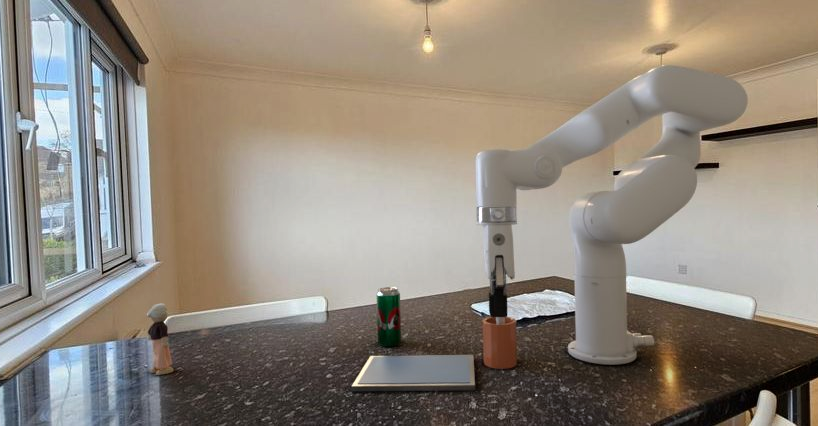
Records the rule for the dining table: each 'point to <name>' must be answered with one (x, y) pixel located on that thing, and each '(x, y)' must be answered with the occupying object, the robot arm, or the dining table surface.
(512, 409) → the dining table surface
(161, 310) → the grandmother figurine
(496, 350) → the pen cup
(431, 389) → the tablet
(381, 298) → the soda can
